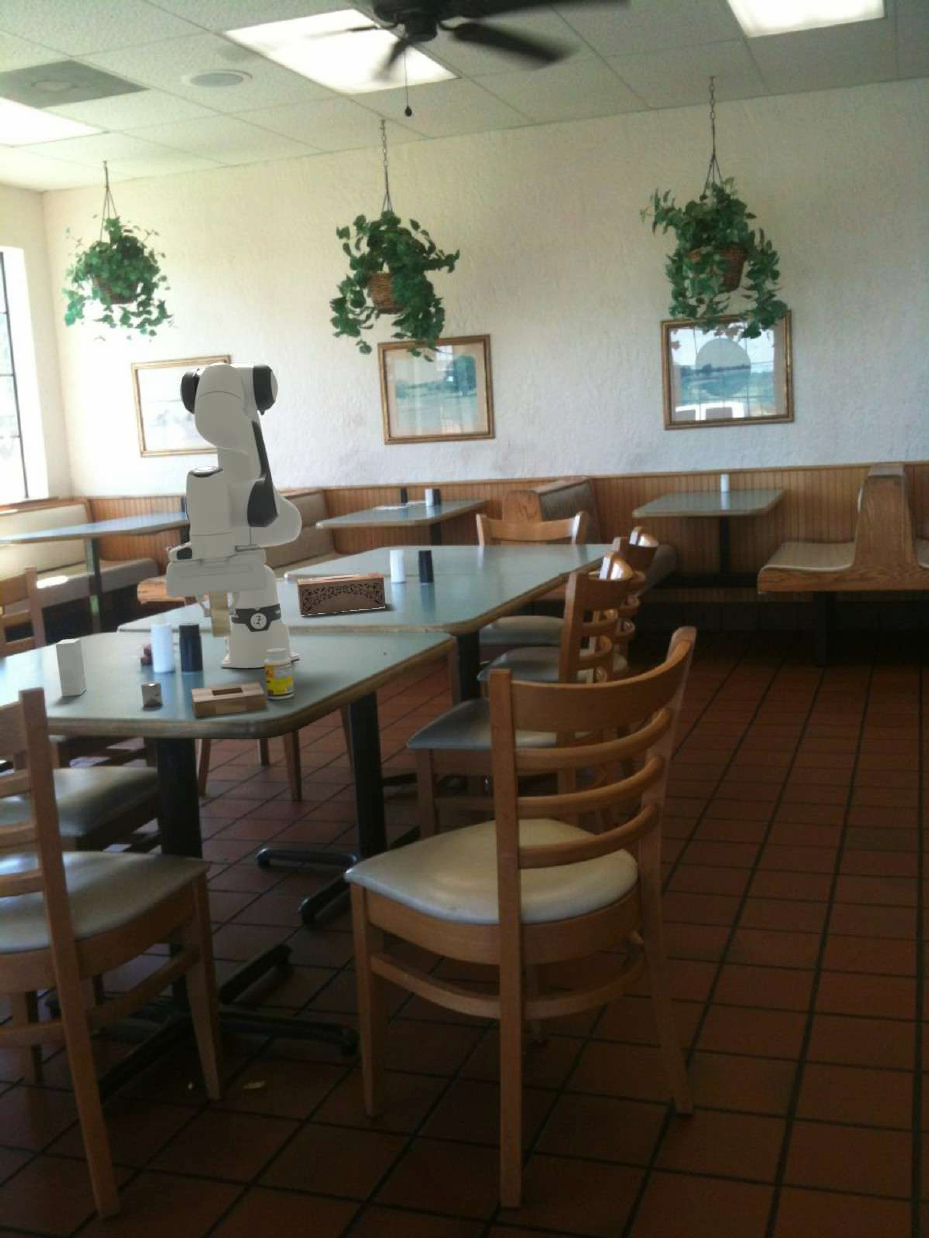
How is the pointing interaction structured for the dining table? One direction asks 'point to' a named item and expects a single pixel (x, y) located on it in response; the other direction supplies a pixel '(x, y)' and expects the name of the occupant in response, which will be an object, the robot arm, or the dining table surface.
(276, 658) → the supplement bottle
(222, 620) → the long pin
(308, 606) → the tissue box cover
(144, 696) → the short pin
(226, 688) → the hole plate
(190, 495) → the robot arm
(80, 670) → the skincare box
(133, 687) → the dining table surface
